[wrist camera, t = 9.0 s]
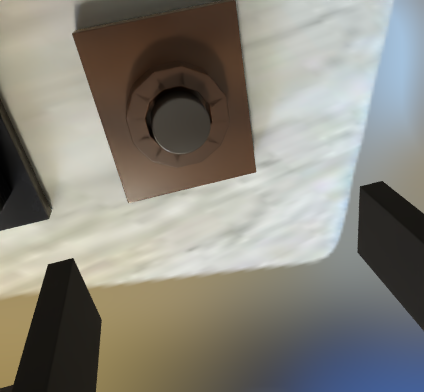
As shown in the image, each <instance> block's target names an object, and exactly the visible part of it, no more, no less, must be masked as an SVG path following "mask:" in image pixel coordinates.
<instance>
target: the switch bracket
mask: <svg viewBox="0 0 424 392" xmlns="http://www.w3.org/2000/svg"><path fill="white" fill-rule="evenodd" d="M51 212H52V210H51V208H50V206H49V204H48V202H47V200H46V197H45V195H44V193H43V191H42V189H41V186H40V184H39V182H38V180H37V178H36V176H35V173H34V171H33V169H32V167H31V165H30V163H29V160H28V158H27V156H26V154H25V152H24V150H23V147H22V145H21V143H20V141H19V139H18V136H17V134H16V132H15V130H14V128H13V126H12V123H11V121H10V119H9V117H8V115H7V113H6V110H5V108H4V106H3V104H2V102H1V100H0V231H1V230H5V229H10V228H14V227H18V226H22V225H26V224H30V223H34V222H39V221H43V220H47V219H49V218H50V215H51Z"/></svg>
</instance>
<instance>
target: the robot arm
mask: <svg viewBox="0 0 424 392" xmlns="http://www.w3.org/2000/svg"><path fill="white" fill-rule="evenodd" d="M358 253H359V254H360V256H361V257H362V258H363V259H364V260H365V262H366V263H367V264H368V265H369V266H370V268H371V269H372V270H373V271H374V272H375V274H376V275H377V276H378V277H379V278H380V279H381V281H382V282H383V283H384V284H385V285H386V287H387V288H388V289H389V290H390V291H391V292H392V294H393V295H394V296H395V297H396V298H397V300H398V301H399V302H400V303H401V304H402V306H403V307H404V308H405V309H406V310H407V312H408V313H409V314H410V315H411V316H412V317H413V319H414V320H415V321H416V322H417V323H418V324H419V326H420V327H421V328H422V329H423V330H424V214H423V213H422V212H421V211H420V210H418V209H417V208H416V207H415V206H413V205H412V204H411V203H409V202H408V201H407V200H406V199H404V198H403V197H402V196H400V195H399V194H398V193H397V192H395V191H394V190H393V189H392V188H390V187H389V186H388V185H387V184H385V183H384V182H383V181H381V182H376V183H372V184H369V185H364V186H360V199H359V227H358ZM101 321H102V320H101V317H100V315H99V313H98V311H97V309H96V306H95V304H94V302H93V300H92V298H91V296H90V293H89V291H88V289H87V287H86V285H85V283H84V280H83V278H82V276H81V274H80V272H79V269H78V267H77V265H76V263H75V261H74V259H73V258H72V259H68V260H64V261H60V262H56V263H52V264H48V266H47V270H46V273H45V277H44V280H43V284H42V287H41V291H40V294H39V298H38V301H37V305H36V308H35V312H34V315H33V319H32V322H31V326H30V329H29V333H28V336H27V340H26V343H25V346H24V350H23V354H22V357H21V360H20V365H19V367H18V371H17V375H16V378H15V381H14V385H11V386H8V387H4V388H0V392H96V383H97V370H98V357H99V346H100V334H101Z"/></svg>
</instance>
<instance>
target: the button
mask: <svg viewBox="0 0 424 392" xmlns="http://www.w3.org/2000/svg"><path fill="white" fill-rule="evenodd" d="M151 126H152V132H153V135H154V138H155V140H156V141H157V143H158V144H159V145H160V146H161V147H162V148H163V149H165V150H166V151H168V152H171V153H175V154H187V153H191V152H193V151H195V150H197V149H198V148H200V147H201V146H202V145H203V144H204V143H205V141H206V140H207V138H208V136H209V133H210V128H211V122H210V117H209V114H208V112H207V111H206V109H205V107H204V106H203V104H202V102H201V101H200V100H199V99H198V98H197V97H196V96H194V95H193V94H191V93H188V92H185V91H173V92H169V93H167V94H165V95H163V96H162V97H161V98H159V100H158V101H157V102H156V103H155V105H154V107H153V109H152V112H151Z"/></svg>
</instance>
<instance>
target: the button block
mask: <svg viewBox="0 0 424 392" xmlns="http://www.w3.org/2000/svg"><path fill="white" fill-rule="evenodd" d="M72 35H73V38H74V41H75V44H76V47H77V50H78V53H79V56H80V59H81V62H82V65H83V68H84V71H85V74H86V77H87V80H88V83H89V86H90V89H91V92H92V95H93V98H94V101H95V104H96V107H97V110H98V113H99V116H100V119H101V122H102V125H103V128H104V131H105V134H106V137H107V140H108V143H109V146H110V149H111V152H112V155H113V158H114V161H115V164H116V167H117V170H118V173H119V176H120V179H121V182H122V185H123V188H124V191H125V194H126V198H127V201H128V203H131V202H135V201H139V200H143V199H147V198H152V197H156V196H160V195H164V194H168V193H172V192H176V191H181V190H185V189H189V188H193V187H197V186H201V185H205V184H209V183H214V182H218V181H222V180H226V179H230V178H234V177H238V176H243V175H247V174H251V173H255V172H256V166H255V158H254V149H253V141H252V133H251V125H250V117H249V108H248V100H247V92H246V84H245V76H244V67H243V59H242V51H241V43H240V35H239V26H238V18H237V10H236V2H235V0H221V1H217V2H212V3H207V4H202V5H197V6H192V7H187V8H182V9H177V10H172V11H168V12H163V13H158V14H153V15H148V16H143V17H138V18H133V19H128V20H123V21H119V22H114V23H109V24H104V25H99V26H94V27H89V28H84V29H79V30H76V31H75V32H73V33H72ZM173 91H185V92H188V93H191V94H193V95H194V96H196V97H197V98H198V99H199V100H200V101H201V102H202V104H203V106H204V107H205V109H206V111H207V112H208V114H209V117H210V122H211V128H210V133H209V136H208V138H207V140H206V141H205V143H204V144H203V145H202V146H201V147H200V148H198V149H197V150H195V151H193V152H191V153H187V154H175V153H171V152H168V151H166V150H165V149H163V148H162V147H161V146H160V145H159V144H158V143H157V141H156V140H155V138H154V135H153V132H152V126H151V112H152V109H153V107H154V105H155V103H156V102H157V101H158V100H159V98H161V97H162V96H163V95H165V94H167V93H169V92H173Z"/></svg>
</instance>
